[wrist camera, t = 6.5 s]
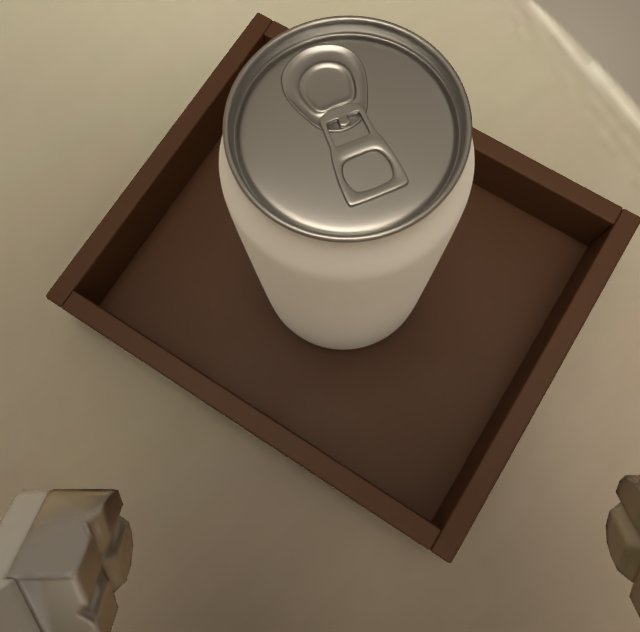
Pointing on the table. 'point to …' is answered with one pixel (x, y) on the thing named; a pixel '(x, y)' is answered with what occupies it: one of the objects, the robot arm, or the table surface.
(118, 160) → the table surface
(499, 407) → the tray
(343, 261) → the can
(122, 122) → the table surface
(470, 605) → the table surface
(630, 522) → the robot arm
